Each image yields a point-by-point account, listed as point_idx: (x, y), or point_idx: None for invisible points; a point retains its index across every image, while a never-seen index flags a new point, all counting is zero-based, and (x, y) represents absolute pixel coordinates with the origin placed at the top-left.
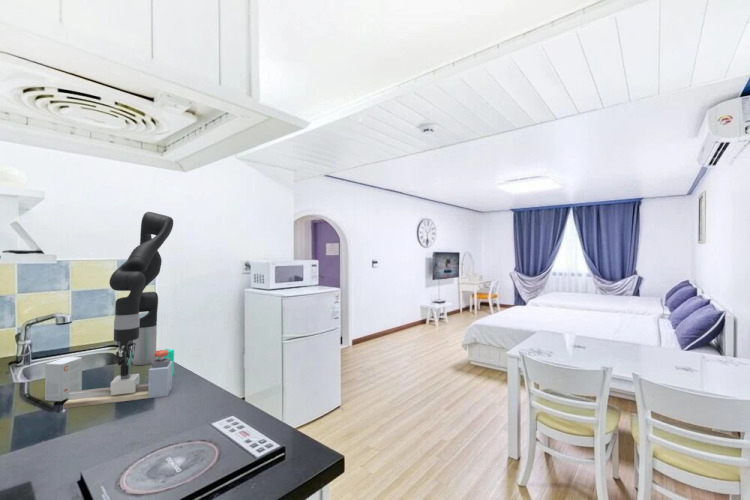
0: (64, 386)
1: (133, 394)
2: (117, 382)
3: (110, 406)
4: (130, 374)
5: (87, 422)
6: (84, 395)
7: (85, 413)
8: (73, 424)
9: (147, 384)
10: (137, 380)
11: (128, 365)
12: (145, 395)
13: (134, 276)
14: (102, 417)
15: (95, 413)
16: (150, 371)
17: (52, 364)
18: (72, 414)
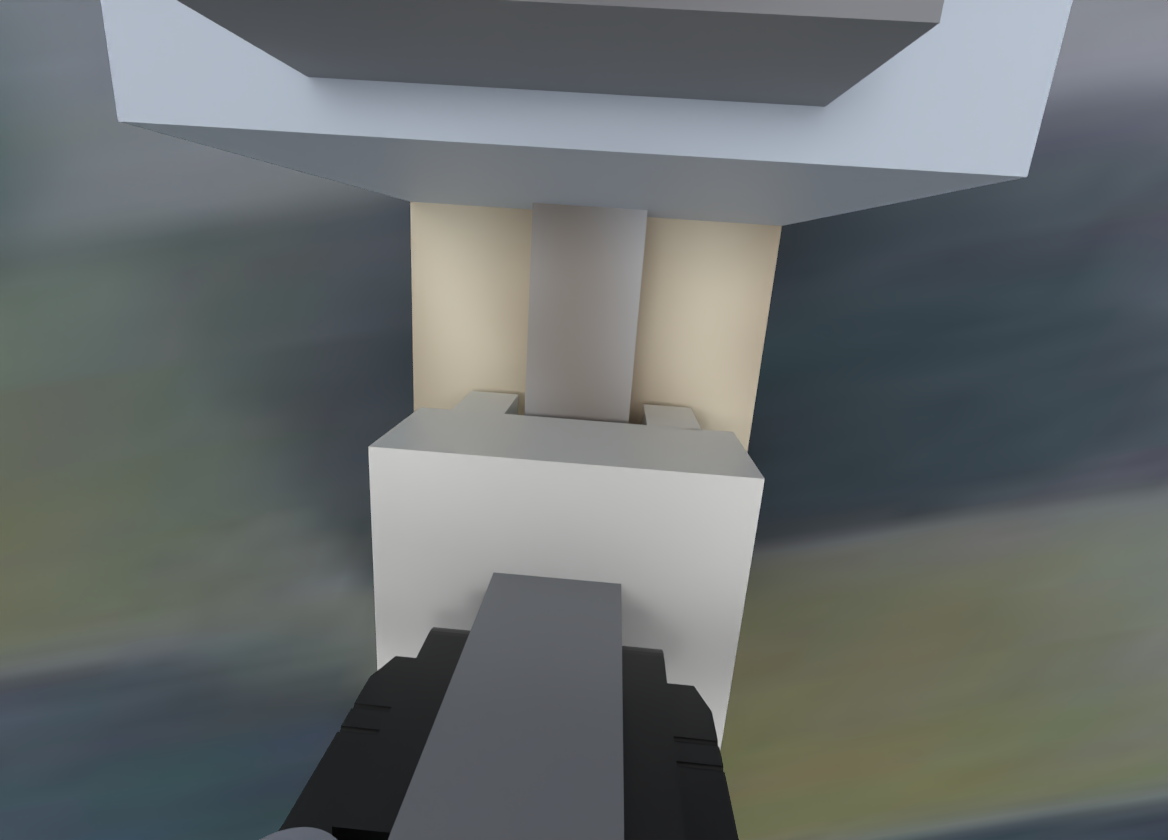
0: None
1: (706, 412)
2: (725, 704)
3: (822, 578)
4: (496, 596)
5: (1149, 683)
6: None
7: (892, 736)
8: (1117, 768)
9: (596, 265)
10: (544, 433)
11: (631, 837)
12: (772, 261)
13: None
14: (1105, 592)
15: (946, 665)
16: (1011, 124)
17: None
18: (855, 816)
